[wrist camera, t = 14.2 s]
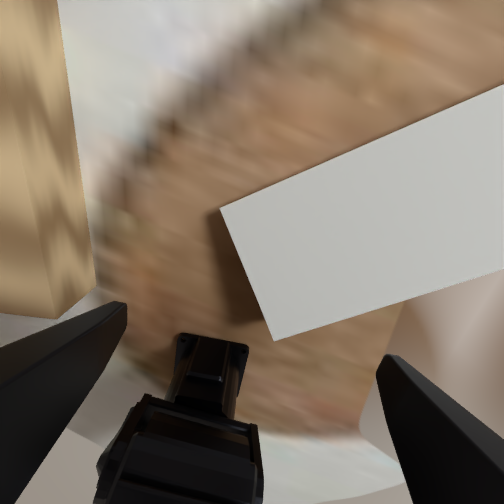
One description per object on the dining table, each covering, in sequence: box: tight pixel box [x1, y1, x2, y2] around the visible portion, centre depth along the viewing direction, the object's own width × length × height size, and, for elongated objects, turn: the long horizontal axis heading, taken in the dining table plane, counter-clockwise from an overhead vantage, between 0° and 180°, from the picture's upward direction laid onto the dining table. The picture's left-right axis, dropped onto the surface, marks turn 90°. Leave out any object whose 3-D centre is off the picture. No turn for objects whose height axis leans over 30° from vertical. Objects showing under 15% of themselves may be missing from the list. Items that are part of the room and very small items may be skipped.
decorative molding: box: [220, 84, 504, 341], centre depth 17 cm, size 34×5×10 cm
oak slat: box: [0, 0, 97, 319], centre depth 16 cm, size 26×4×5 cm, turn 174°
